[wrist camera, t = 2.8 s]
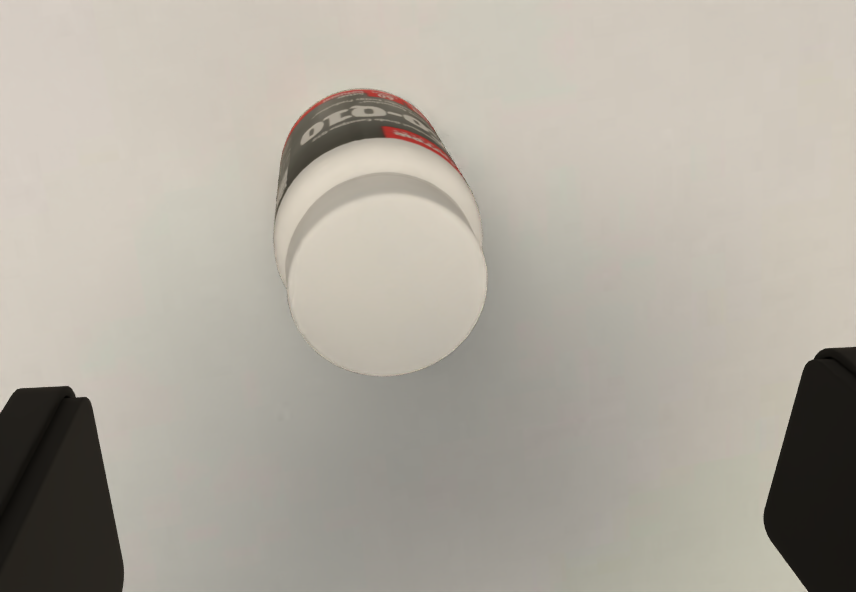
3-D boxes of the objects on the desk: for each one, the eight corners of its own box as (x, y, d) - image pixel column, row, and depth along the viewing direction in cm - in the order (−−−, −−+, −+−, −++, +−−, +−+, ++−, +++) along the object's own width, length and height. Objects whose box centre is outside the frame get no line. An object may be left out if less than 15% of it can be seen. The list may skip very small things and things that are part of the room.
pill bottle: (445, 87, 22) (521, 172, 14) (437, 242, 24) (500, 387, 16) (275, 83, 21) (263, 171, 14) (282, 243, 23) (274, 396, 16)
